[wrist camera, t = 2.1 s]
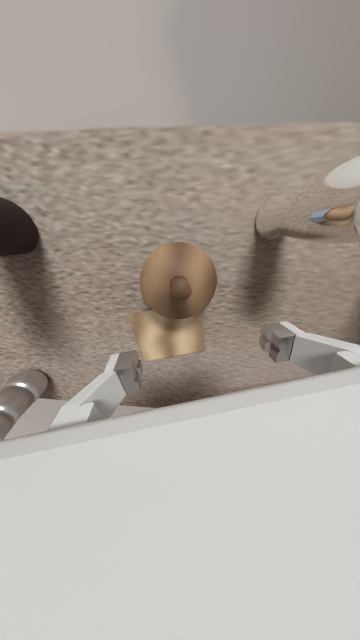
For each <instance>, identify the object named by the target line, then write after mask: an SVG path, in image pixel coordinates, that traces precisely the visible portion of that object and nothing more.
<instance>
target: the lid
mask: <svg viewBox="0 0 360 640" xmlns="http://www.w3.org/2000/svg"><path fill="white" fill-rule="evenodd" d="M216 284H217V276H216V271H215V267H214V265H213V263H212V261H211V259H210V258H209V256H208V255H207V254H206V253H205V252H204V251H203V250H201V249H200V248H198V247H197V246H195V245H192V244H189V243H184V242H173V243H168V244H165V245H163V246H161V247H159V248H158V249H156V250H155V251H154V252H153V253H152V254H151V255H150V256H149V257H148V259H147V260H146V261H145V263H144V265H143V268H142V271H141V275H140V288H141V292H142V295H143V298H144V300H145V301H146V303H147V304H148V306H149V307H150V308H151V309H152V310H153V311H155V312H156V313H157V314H159V315H161V316H163V317H166V318H170V319H185V318H189V317H192V316H194V315H196V314H198V313H199V312H201V311H202V310H203V309H204V308H205V307H206V306H207V305H208V304H209V302H210V301H211V299H212V298H213V295H214V293H215V289H216Z"/></svg>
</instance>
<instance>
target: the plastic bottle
mask: <svg viewBox="0 0 360 640" xmlns="http://www.w3.org/2000/svg"><path fill="white" fill-rule="evenodd" d="M47 386H48V379H47V377H46V375H44V374H43V373H42V372H40V371H37V370H25V371H21V372H19V373H17V374H16V375H14V376H13V377H11V378H10V379H9V381H8V382H7V383H6V384H5V385H4V387H3V388H2V390H1V391H0V441H2V440H4V438H5V436H6V435H7V434H8V432H9V431H10V430H11V428H12V427H13V425H14V424H15V423H16V422H17V420H18V419H19V418H20V416H21V415H22V414H23V413H24V412H25V411H26V410H27V409H28V408H29V407H30V406H31V404H32V403H34V402H35V401H36V400H37V399H38V398H39V397H40V396H41V395H42V394H43V393H44V391H45V390H46V388H47Z"/></svg>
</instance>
